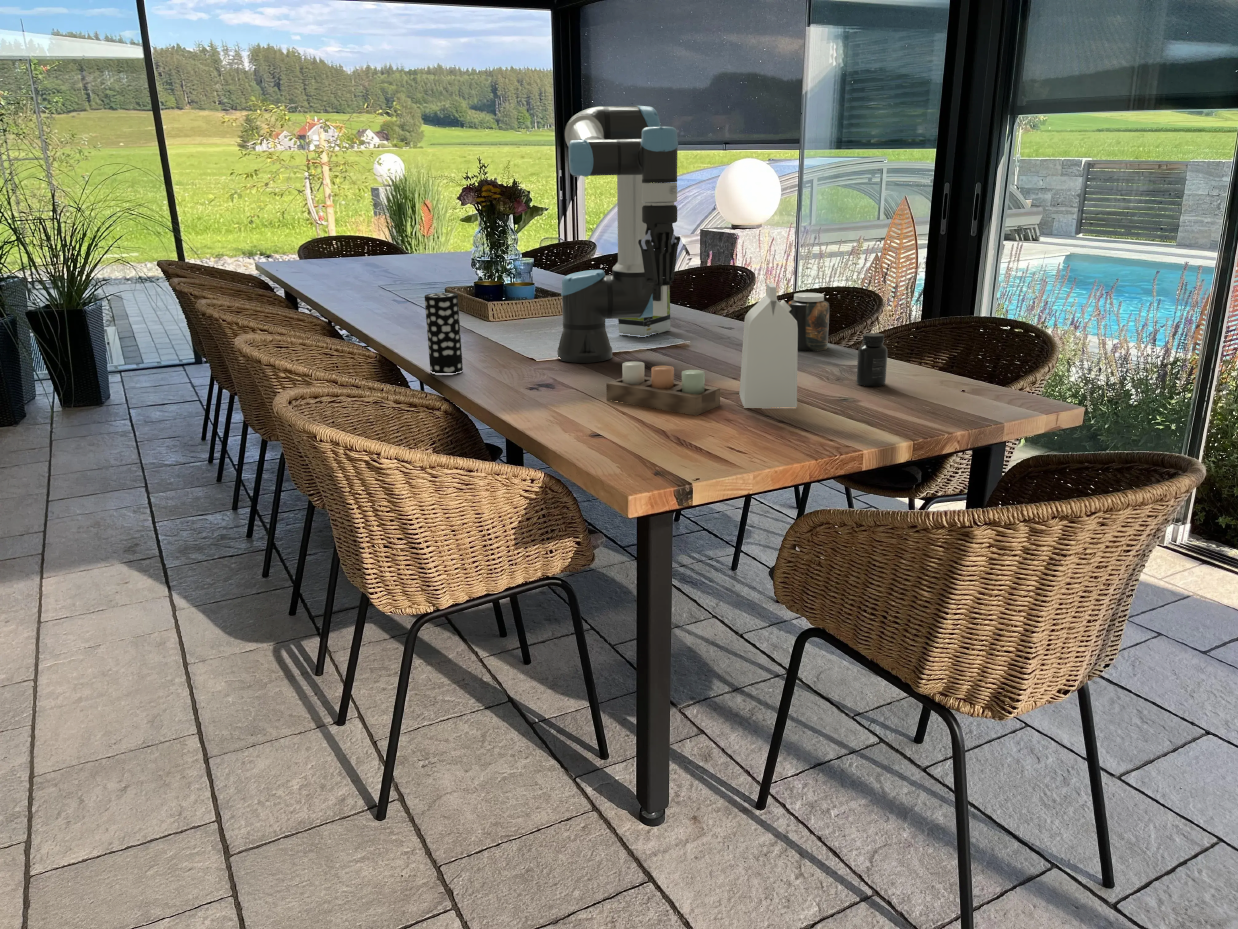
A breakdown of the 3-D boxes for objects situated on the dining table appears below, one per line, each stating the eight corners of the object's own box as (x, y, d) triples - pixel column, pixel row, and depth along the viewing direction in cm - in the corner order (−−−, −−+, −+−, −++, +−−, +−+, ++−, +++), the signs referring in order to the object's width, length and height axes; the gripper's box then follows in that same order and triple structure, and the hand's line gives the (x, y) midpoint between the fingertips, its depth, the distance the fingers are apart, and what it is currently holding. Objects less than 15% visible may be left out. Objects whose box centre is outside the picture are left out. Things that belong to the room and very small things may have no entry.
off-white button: (618, 386, 216) (617, 364, 214) (630, 381, 219) (630, 360, 218) (636, 388, 213) (636, 367, 211) (648, 384, 217) (648, 363, 215)
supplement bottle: (886, 381, 229) (890, 332, 225) (884, 388, 222) (888, 337, 219) (857, 380, 231) (860, 331, 227) (854, 386, 225) (857, 336, 221)
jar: (781, 350, 266) (783, 296, 261) (790, 342, 276) (792, 290, 272) (823, 352, 262) (826, 298, 257) (830, 344, 272) (833, 292, 267)
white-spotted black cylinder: (469, 370, 247) (464, 293, 241) (451, 377, 240) (445, 298, 233) (442, 367, 250) (437, 292, 244) (424, 374, 243) (417, 296, 237)
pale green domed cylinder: (677, 395, 207) (677, 373, 205) (689, 390, 210) (689, 368, 209) (696, 398, 204) (697, 375, 202) (708, 393, 208) (709, 371, 206)
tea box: (644, 327, 302) (644, 281, 298) (671, 330, 297) (671, 283, 292) (617, 335, 291) (616, 287, 286) (644, 338, 285) (644, 289, 280)
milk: (739, 395, 218) (742, 281, 210) (789, 394, 218) (794, 281, 210) (744, 408, 207) (747, 289, 199) (796, 408, 207) (802, 288, 198)
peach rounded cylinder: (647, 390, 211) (647, 368, 210) (659, 386, 215) (659, 364, 213) (665, 393, 208) (665, 371, 207) (678, 389, 212) (678, 367, 211)
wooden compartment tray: (606, 400, 215) (606, 383, 214) (632, 391, 223) (631, 374, 222) (696, 415, 202) (696, 397, 201) (720, 405, 210) (720, 387, 208)
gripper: (656, 205, 193) (657, 320, 200) (691, 203, 203) (690, 313, 210) (627, 205, 197) (628, 318, 204) (662, 202, 207) (662, 310, 214)
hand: (660, 315), depth 207 cm, fingers closed
